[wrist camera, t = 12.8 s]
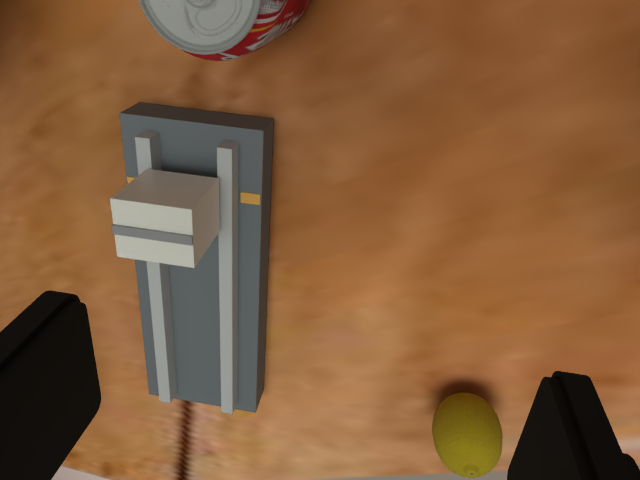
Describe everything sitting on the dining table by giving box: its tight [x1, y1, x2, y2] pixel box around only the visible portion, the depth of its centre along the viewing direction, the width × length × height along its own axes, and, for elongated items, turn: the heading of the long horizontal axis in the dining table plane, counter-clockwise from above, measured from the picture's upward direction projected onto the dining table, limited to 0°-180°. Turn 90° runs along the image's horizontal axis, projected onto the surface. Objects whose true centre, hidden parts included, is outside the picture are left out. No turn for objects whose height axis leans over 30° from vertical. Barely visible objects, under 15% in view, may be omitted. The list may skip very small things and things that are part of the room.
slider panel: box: [120, 102, 274, 414], centre depth 42 cm, size 10×26×4 cm, turn 175°
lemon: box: [432, 393, 502, 478], centre depth 44 cm, size 6×6×8 cm
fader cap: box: [110, 169, 220, 268], centre depth 35 cm, size 5×4×7 cm
